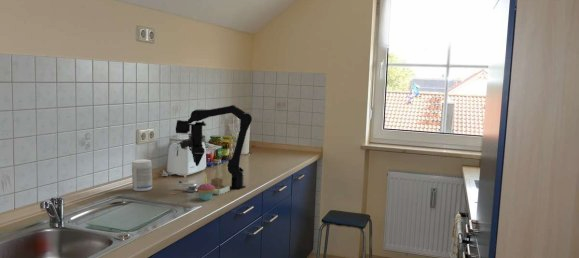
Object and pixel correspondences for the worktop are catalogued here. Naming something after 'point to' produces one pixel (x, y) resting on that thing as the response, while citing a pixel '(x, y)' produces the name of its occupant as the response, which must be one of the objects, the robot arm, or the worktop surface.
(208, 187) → the cupcake
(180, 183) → the crank
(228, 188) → the tray
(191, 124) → the robot arm
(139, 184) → the supplement tub
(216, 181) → the stop block
